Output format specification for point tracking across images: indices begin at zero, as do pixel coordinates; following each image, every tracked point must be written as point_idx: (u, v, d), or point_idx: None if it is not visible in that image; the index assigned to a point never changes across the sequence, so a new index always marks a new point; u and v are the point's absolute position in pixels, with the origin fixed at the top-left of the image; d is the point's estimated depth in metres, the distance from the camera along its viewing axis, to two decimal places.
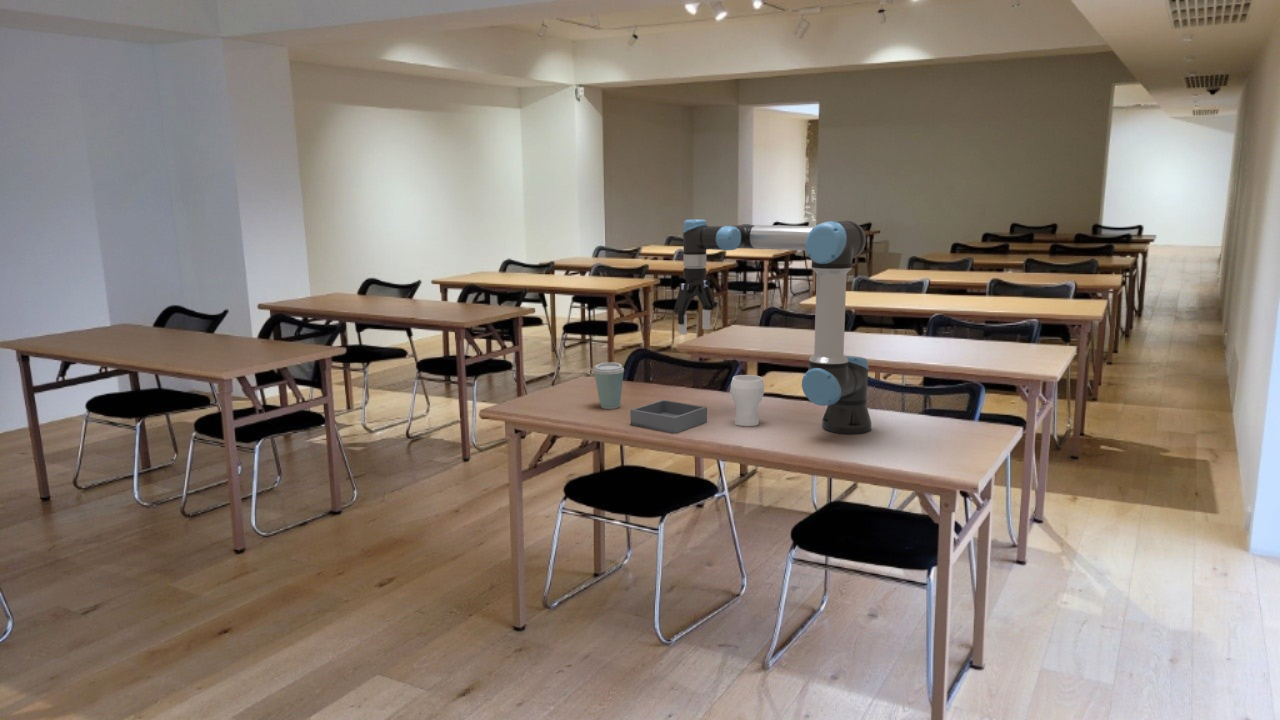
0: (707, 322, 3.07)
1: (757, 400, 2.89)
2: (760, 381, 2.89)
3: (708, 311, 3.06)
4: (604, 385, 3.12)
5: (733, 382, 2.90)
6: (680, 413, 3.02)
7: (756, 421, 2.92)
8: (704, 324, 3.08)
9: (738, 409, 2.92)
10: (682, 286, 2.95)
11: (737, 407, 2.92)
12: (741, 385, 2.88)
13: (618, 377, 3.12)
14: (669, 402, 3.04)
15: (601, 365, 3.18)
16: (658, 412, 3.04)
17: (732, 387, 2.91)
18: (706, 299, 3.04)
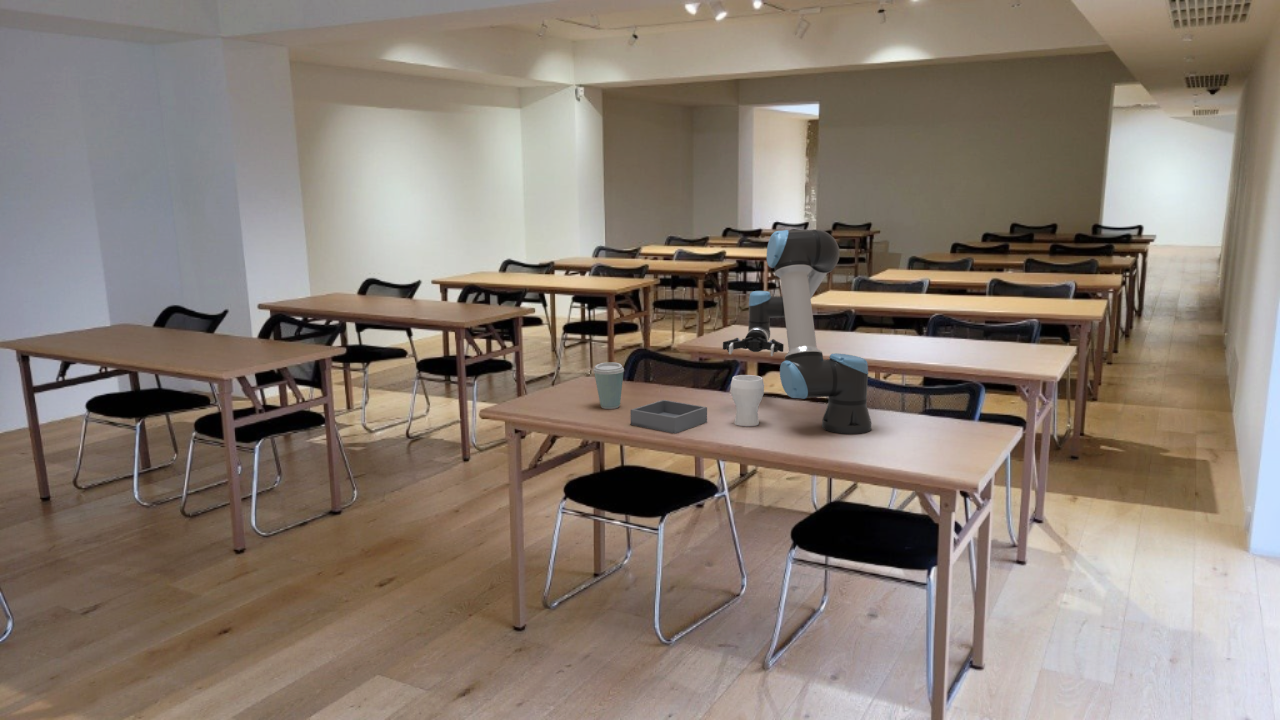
0: None
1: (757, 400, 2.89)
2: (760, 381, 2.89)
3: (772, 345, 3.04)
4: (604, 385, 3.12)
5: (733, 382, 2.90)
6: (680, 413, 3.02)
7: (756, 421, 2.92)
8: None
9: (738, 409, 2.92)
10: None
11: (737, 407, 2.92)
12: (741, 385, 2.88)
13: (618, 377, 3.12)
14: (669, 402, 3.04)
15: (601, 365, 3.18)
16: (658, 412, 3.04)
17: (732, 387, 2.91)
18: (768, 342, 3.08)
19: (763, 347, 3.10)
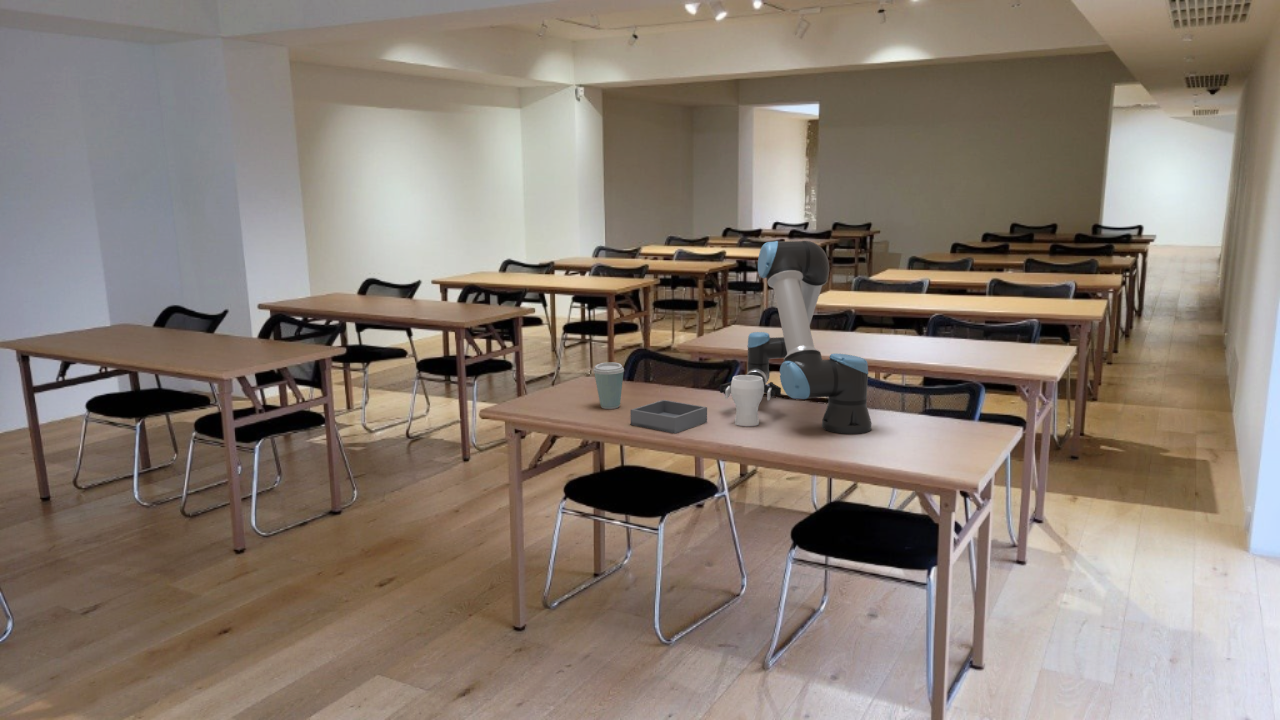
0: None
1: (757, 400, 2.89)
2: (760, 381, 2.89)
3: (769, 388, 3.01)
4: (604, 385, 3.12)
5: (733, 382, 2.90)
6: (680, 413, 3.02)
7: (756, 421, 2.92)
8: None
9: (738, 409, 2.92)
10: None
11: (737, 407, 2.92)
12: (741, 385, 2.88)
13: (618, 377, 3.12)
14: (669, 402, 3.04)
15: (601, 365, 3.18)
16: (658, 412, 3.04)
17: (732, 387, 2.91)
18: (766, 385, 3.06)
19: None
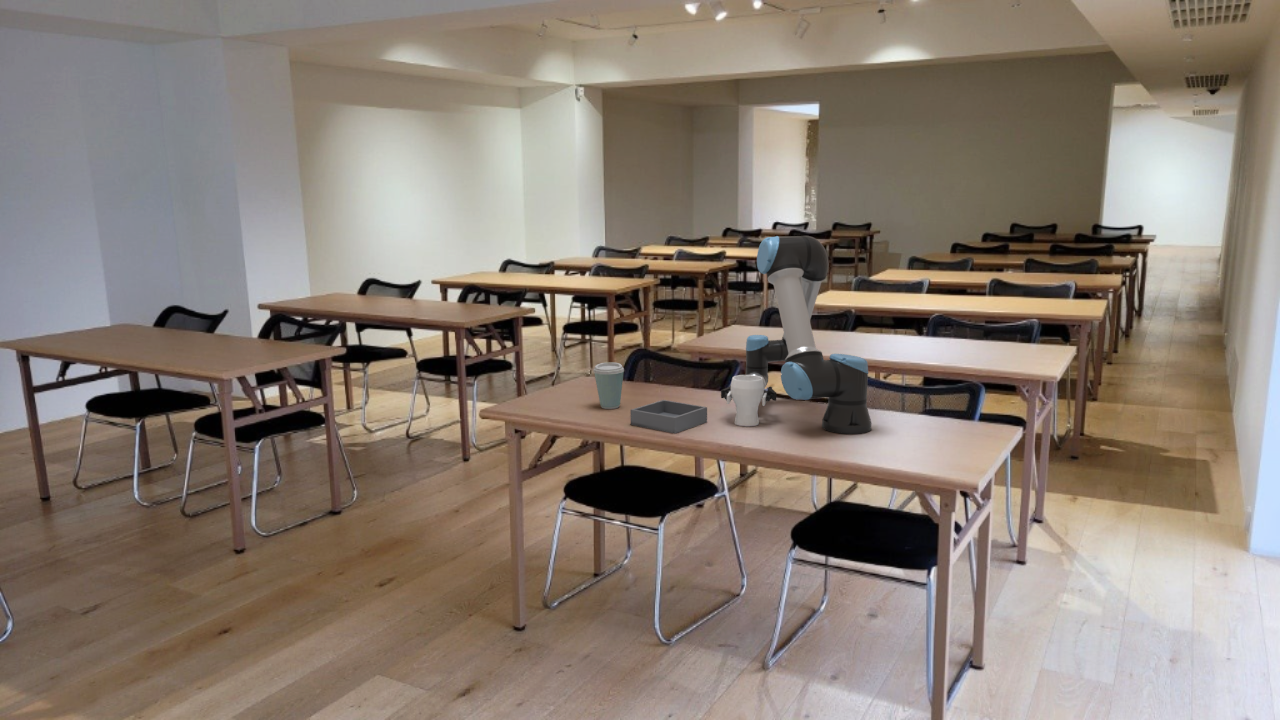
0: None
1: (757, 400, 2.89)
2: (760, 381, 2.89)
3: None
4: (604, 385, 3.12)
5: (733, 382, 2.90)
6: (680, 413, 3.02)
7: (756, 421, 2.92)
8: None
9: (738, 409, 2.92)
10: None
11: (737, 407, 2.92)
12: (741, 385, 2.88)
13: (618, 377, 3.12)
14: (669, 402, 3.04)
15: (601, 365, 3.18)
16: (658, 412, 3.04)
17: (732, 387, 2.91)
18: None
19: None
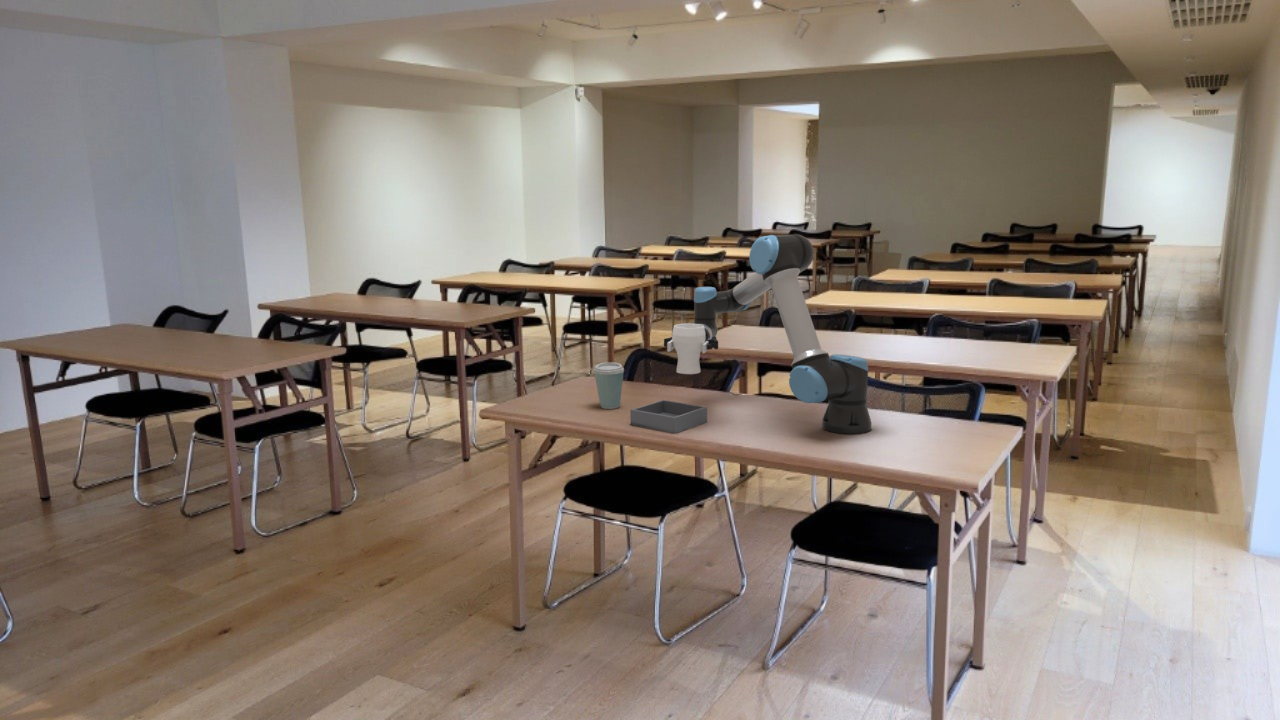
0: None
1: (697, 348, 2.89)
2: (701, 329, 2.89)
3: (706, 342, 2.93)
4: (604, 385, 3.12)
5: (674, 330, 2.90)
6: (680, 413, 3.02)
7: (697, 369, 2.92)
8: None
9: (679, 357, 2.92)
10: None
11: (678, 355, 2.92)
12: (681, 332, 2.88)
13: (618, 377, 3.12)
14: (669, 402, 3.04)
15: (601, 365, 3.18)
16: (658, 412, 3.04)
17: (673, 335, 2.91)
18: (705, 339, 2.98)
19: None
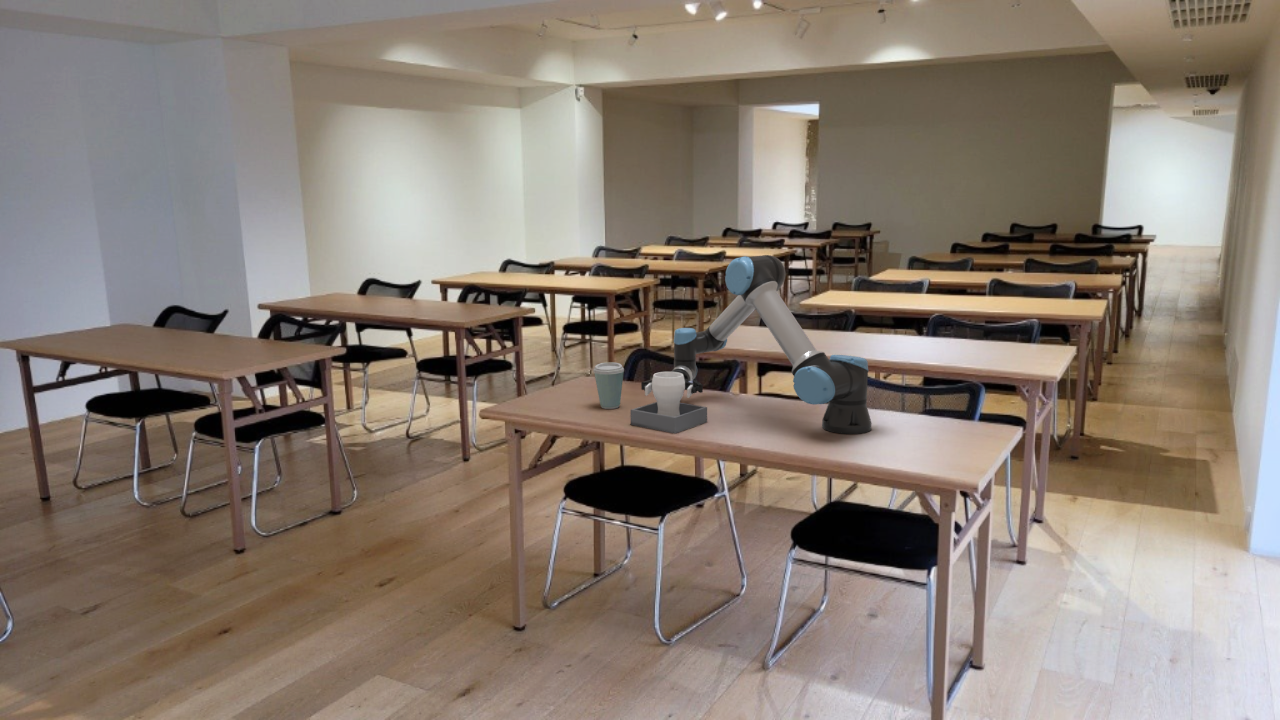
0: None
1: (677, 397, 2.90)
2: (680, 378, 2.90)
3: None
4: (604, 385, 3.12)
5: (653, 379, 2.91)
6: (680, 413, 3.02)
7: None
8: None
9: (659, 406, 2.92)
10: None
11: (658, 404, 2.93)
12: (661, 382, 2.88)
13: (618, 377, 3.12)
14: None
15: (601, 365, 3.18)
16: None
17: (653, 384, 2.91)
18: (688, 382, 2.99)
19: None
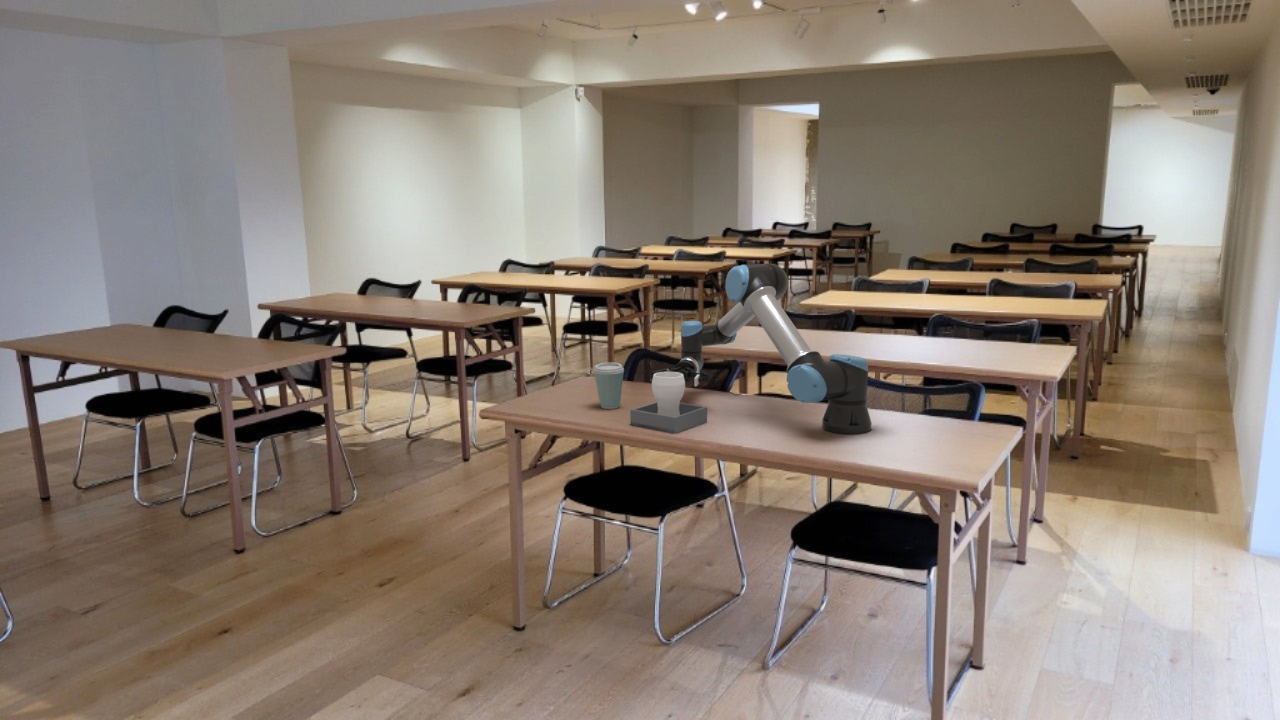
0: None
1: (677, 397, 2.90)
2: (680, 378, 2.90)
3: None
4: (604, 385, 3.12)
5: (653, 379, 2.91)
6: (680, 413, 3.02)
7: None
8: None
9: (659, 406, 2.92)
10: None
11: (658, 404, 2.93)
12: (661, 382, 2.88)
13: (618, 377, 3.12)
14: None
15: (601, 365, 3.18)
16: None
17: (653, 384, 2.91)
18: (695, 372, 3.11)
19: (690, 377, 3.13)
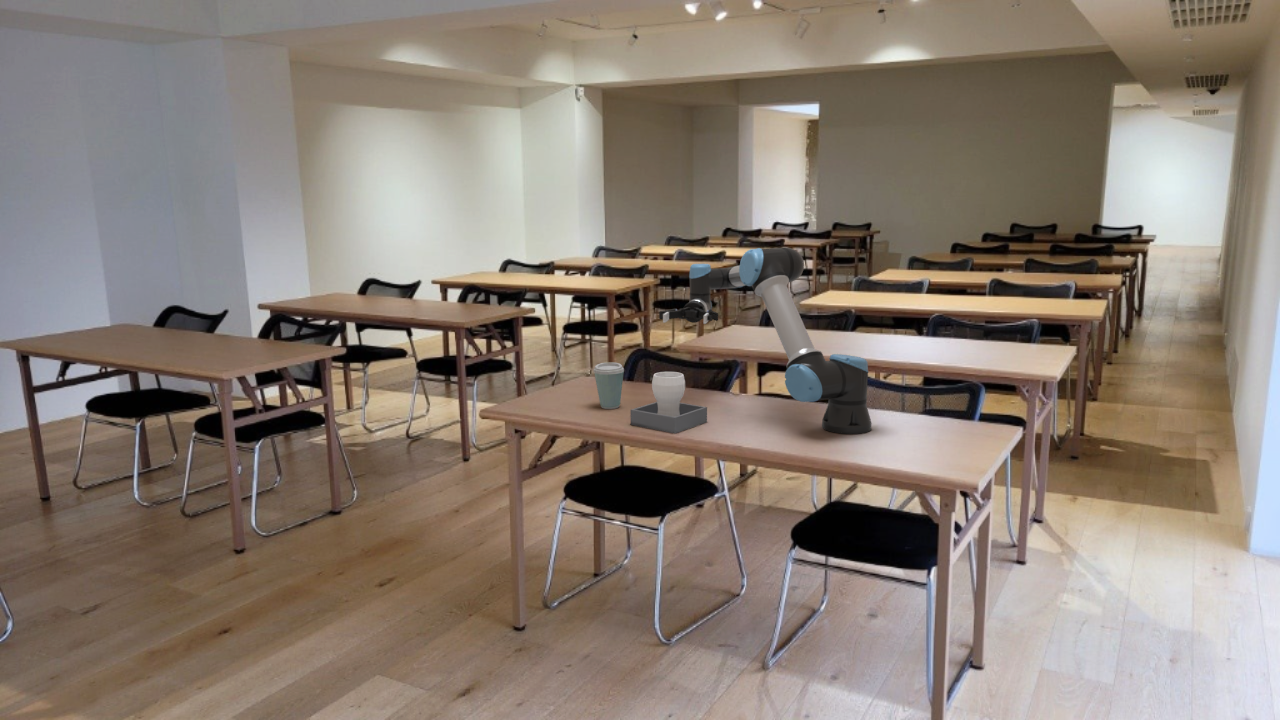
0: None
1: (677, 397, 2.90)
2: (680, 378, 2.90)
3: (706, 314, 3.07)
4: (604, 385, 3.12)
5: (654, 379, 2.91)
6: (680, 413, 3.02)
7: None
8: None
9: (659, 406, 2.92)
10: None
11: (658, 404, 2.93)
12: (661, 382, 2.88)
13: (618, 377, 3.12)
14: None
15: (601, 365, 3.18)
16: None
17: (653, 384, 2.91)
18: (704, 311, 3.11)
19: (699, 317, 3.13)
